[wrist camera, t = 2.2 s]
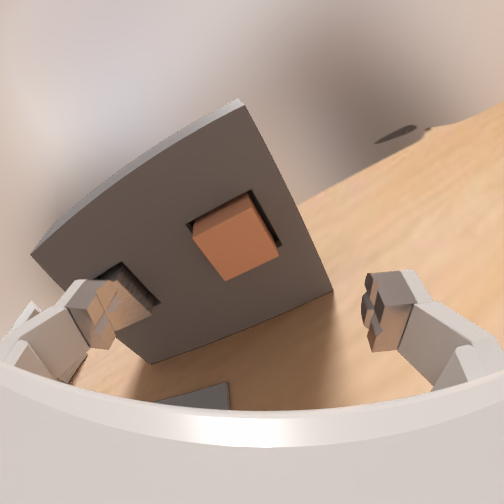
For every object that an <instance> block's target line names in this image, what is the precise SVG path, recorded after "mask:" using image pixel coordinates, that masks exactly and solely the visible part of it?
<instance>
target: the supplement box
mask: <svg viewBox="0 0 504 504" xmlns="http://www.w3.org/2000/svg"><path fill="white" fill-rule="evenodd" d="M41 312H43V311H41V310H40V309H39V308H38V307H37V306H36V305H35V303H34V302H33V301H31V302H30V303H29V304H28V306H27V307H26V308H25V310H24V311H23V313H22V314H21V315H20V317H19V318H18V320H17V321H16V323H15V324H14V325H13V327H12V328H11V331H12V330H14V329H15V328H17V327H18V326H20V325H22V324H23V323H25V322H26V321H28V320H30V319H31V318H33V317H34V316H36V315H38V314H39V313H41ZM87 355H88V354H87V352H86V353H85V354H84V355H83V356H81V357H80V358H79V359H78V360H77V361H76V362H75V363H74V364H73V365H71V366H70V367H69V368H68V369H67V370H66V371H65V372H64V373H63V374H62V375H60V376H59V377H58V378H59V379H61V380H62V381H64V382H65V383H67V384H68V383H69V381H70V379H71V377H72V376H73V374H74V373H75V371H76V370H77V368H78V367H79V366H80V364H81V363H82V361H83V360H84V358H85V357H86V356H87Z"/></svg>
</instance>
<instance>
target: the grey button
mask: <svg viewBox="0 0 504 504" xmlns="http://www.w3.org/2000/svg"><path fill="white" fill-rule="evenodd" d="M92 280H110V281H112V282H114V284H115V286H116V289H117V293H116V296H117V297H118V298H119V299H120V300H121V301H122V303H123V305H124V310H125V316H124V322H123V324H122V326H121V327H120V328H118V329H117V331H118V330H120V329H122V328H124V327H127V326H129V325H131V324H133V323H136V322H138V321H140V320H142V319H144V318H147V317H149V316H151V315H152V314H153V308H154V302H155V296H154V295H153V294H152V293H151V292H150V291H149V290H148V289H147V288H146V287H145V286H144V284H143V283H142V282H141V281H140V280H139V279H138V278H137V277H136V276H135V275H134V274H133V273H132V272H131V271H130V269H129V268H128V267H127V266H126V265H125V264H124V263H123V262H122V261H121V262H119V263H118V264H116V265H115V266H113V267H111V268H110V269H108V270H106V271H105V272H103V273H102V274H100V275H98V276H97V277H95V278H94V279H92Z"/></svg>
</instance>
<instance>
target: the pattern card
mask: <svg viewBox="0 0 504 504" xmlns="http://www.w3.org/2000/svg"><path fill="white" fill-rule="evenodd" d="M152 403H158V404H165V405H173V406H182V407H192V408H203V409H217V410H230V402H229V391H228V383H227V382H224V383H221V384H218V385H214V386H211V387H208V388H204V389H201V390H197V391H194V392H190V393H187V394H183V395H179V396H175V397H171V398H167V399H163V400H159V401H155V402H152Z"/></svg>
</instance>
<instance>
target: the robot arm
mask: <svg viewBox="0 0 504 504" xmlns="http://www.w3.org/2000/svg"><path fill="white" fill-rule="evenodd" d="M365 287H366V290H367V292H366V293H365V294H364V295H363V296H362V303H361V315H362V320H363V324H364V326H365V327H367V328H368V329H369V330H368V334H367V338H368V341H369V344H370V348H371V351H372V352H381V351H391V350H398V352H399V353H400V354H401V355H402V356H403V357H404V358H405V359H406V360H407V361H408V362H409V363H410V364H411V365H412V366H413V367H414V368H415V369H416V370H417V371H418V372H419V373H420V374H421V375H422V376H424V377H425V378H426V379H427V380H428V381H429V382H430V383H431V384H432V385H433V386H434V387H433V388H432V390H431V392H428V393H424V394H419V395H415V396H410V397H405V398H400V399H395V400H389V401H383V402H377V403H370V404H363V405H355V406H347V407H337V408H326V409H312V410H292V411H237V410H217V409H203V408H192V407H182V406H173V405H165V404H158V403H152V402H145V401H139V400H134V399H128V398H123V397H118V396H113V395H109V394H104V393H100V392H96V391H92V390H88V389H84V388H80V387H76V386H73V385H69V384H65V383H62V382H59V381H57V380H56V379H57V378H58V377H59V376H60V375H62V374H63V373H64V372H65V371H66V370H67V369H68V368H69V367H70V366H71V365H73V364H74V363H75V362H76V361H77V360H78V359H79V358H80V357H81V356H83V355H84V354H85V353H86V352H87V351H88V350H89V349H90V348H97V349H106V350H109V349H110V347H111V345H112V343H113V341H114V339H115V337H116V333H115V331H116V330H117V329H118V328H120V327H121V326H122V324H123V322H124V316H125V310H124V305H123V303H122V301H121V300H120V299H119V298H118V297H117V296H116V293H117V289H116V286H115V284H114V282H112V281H110V280H90V279H89V280H87V279H78V280H75V281H74V282H73V283H72V284H71V286H70V287H69V288H68V289H67V291H66V292H65V293H64V294H63V296H62V297H61V298H60V299H59V301H58V302H57V303H56V304H55V306H54V307H49V308H48V309H46V310H44V311H43V312H41V313H39V314H38V315H36V316H34V317H33V318H31V319H30V320H28V321H26V322H25V323H23V324H22V325H20V326H18V327H17V328H15V329H14V330H12V331H10V332H9V333H7V334H6V335H5V336H4V338H3V339H2V340H1V342H0V504H504V352H503V350H502V348H501V347H500V345H499V343H498V341H497V340H496V338H495V337H494V336H493V335H491V334H490V333H488V332H487V331H485V330H484V329H482V328H480V327H479V326H477V325H476V324H474V323H473V322H471V321H469V320H468V319H466V318H465V317H463V316H461V315H460V314H458V313H457V312H455V311H453V310H452V309H450V308H448V307H447V306H445V305H443V304H442V303H440V302H438V301H433V299H432V298H431V296H430V294H429V293H428V291H427V290H426V288H425V286H424V285H423V283H422V281H421V280H420V278H419V277H418V275H417V274H416V272H415V271H414V270H412V269H408V270H398V271H391V272H378V273H367V276H366V279H365Z"/></svg>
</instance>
